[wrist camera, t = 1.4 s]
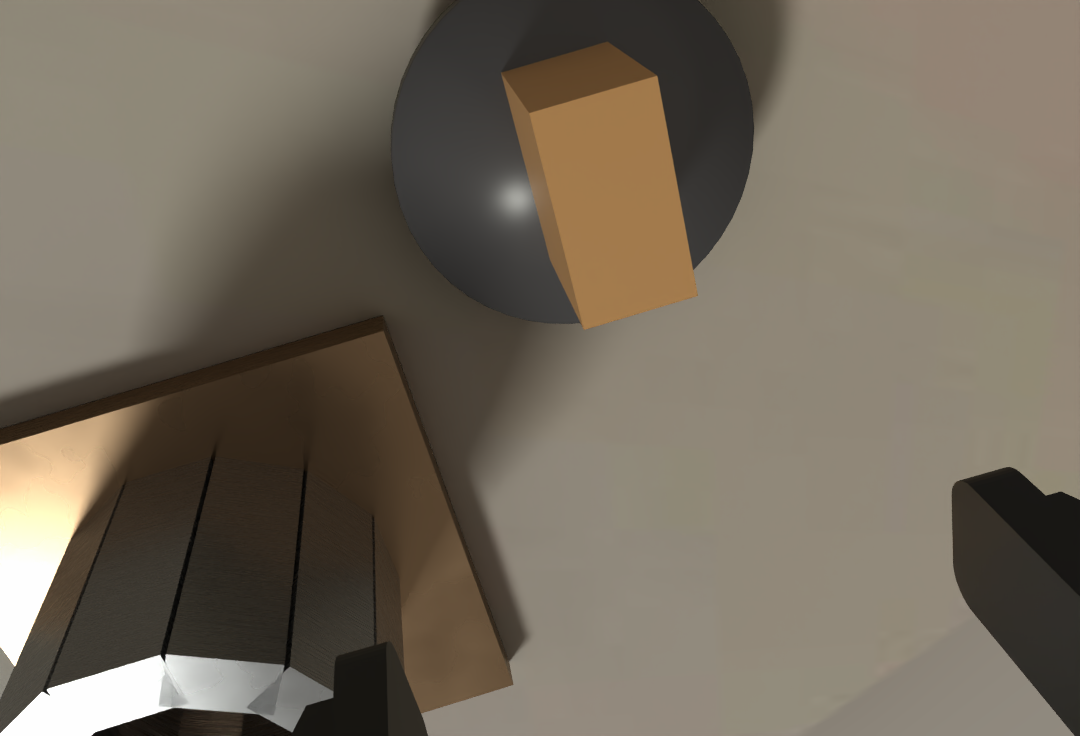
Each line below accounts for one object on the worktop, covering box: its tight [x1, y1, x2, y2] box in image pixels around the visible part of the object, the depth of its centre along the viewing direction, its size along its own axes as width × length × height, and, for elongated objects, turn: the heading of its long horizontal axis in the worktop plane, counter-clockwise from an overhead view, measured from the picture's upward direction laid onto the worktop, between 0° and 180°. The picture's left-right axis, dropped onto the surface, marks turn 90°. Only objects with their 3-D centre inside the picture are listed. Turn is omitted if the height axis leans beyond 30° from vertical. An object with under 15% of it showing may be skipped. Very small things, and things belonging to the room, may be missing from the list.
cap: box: [391, 0, 754, 330], centre depth 26 cm, size 10×10×8 cm
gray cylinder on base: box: [0, 315, 513, 736], centre depth 30 cm, size 16×16×10 cm
